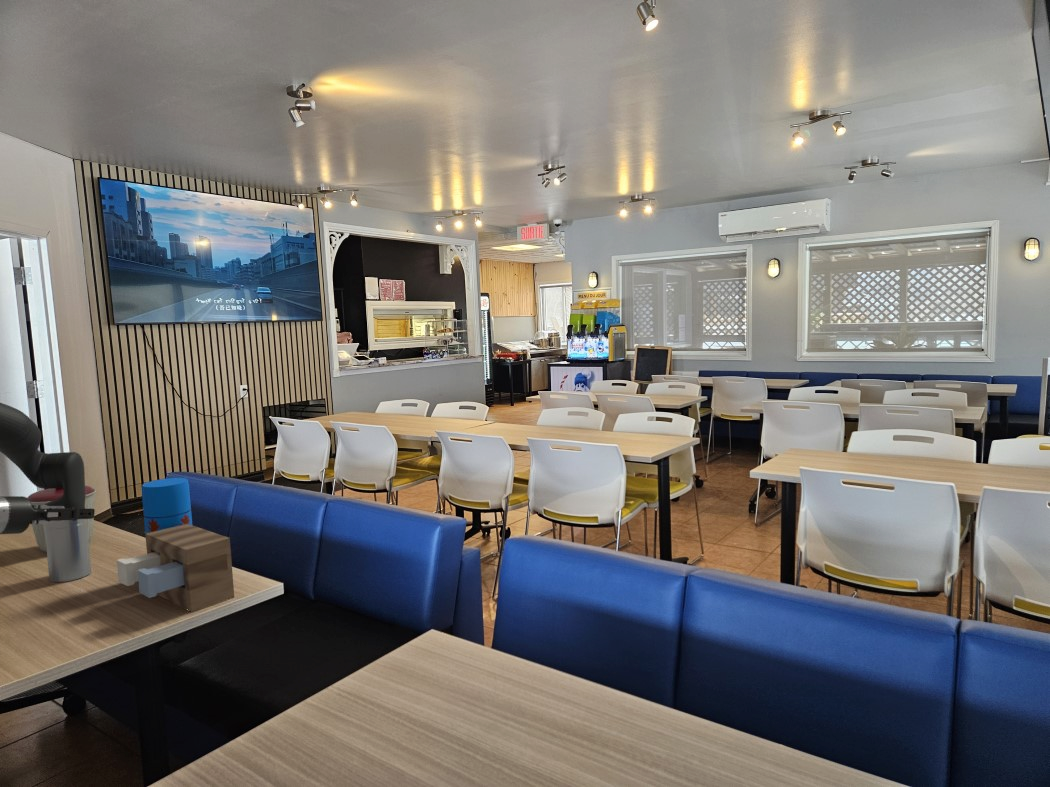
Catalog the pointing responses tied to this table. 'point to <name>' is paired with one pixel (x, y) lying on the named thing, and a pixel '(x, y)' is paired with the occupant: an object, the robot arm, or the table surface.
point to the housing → (195, 564)
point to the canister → (51, 495)
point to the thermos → (166, 504)
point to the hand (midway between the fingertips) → (81, 513)
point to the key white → (136, 567)
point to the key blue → (160, 578)
